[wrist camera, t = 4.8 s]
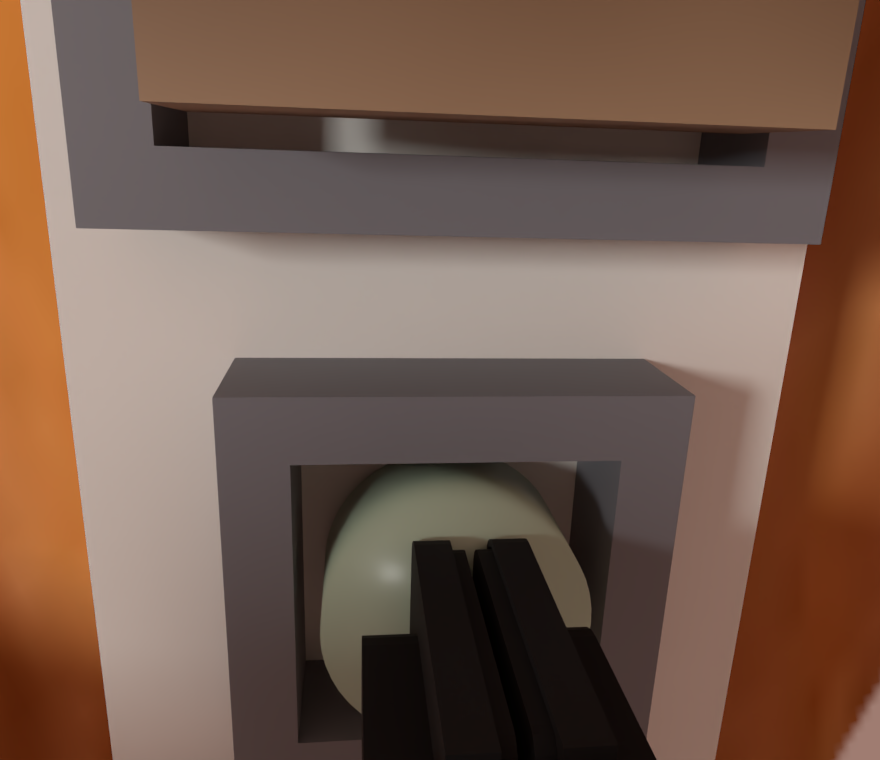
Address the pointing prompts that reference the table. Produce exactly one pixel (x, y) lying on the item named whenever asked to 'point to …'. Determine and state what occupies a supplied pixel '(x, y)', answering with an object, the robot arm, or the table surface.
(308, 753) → the control panel
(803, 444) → the table surface
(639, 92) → the key
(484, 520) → the button sage
